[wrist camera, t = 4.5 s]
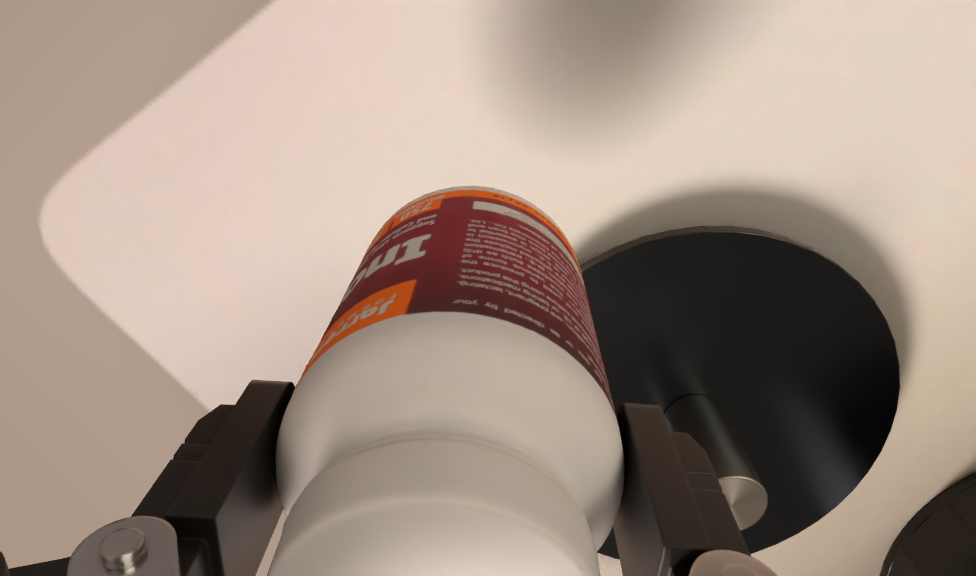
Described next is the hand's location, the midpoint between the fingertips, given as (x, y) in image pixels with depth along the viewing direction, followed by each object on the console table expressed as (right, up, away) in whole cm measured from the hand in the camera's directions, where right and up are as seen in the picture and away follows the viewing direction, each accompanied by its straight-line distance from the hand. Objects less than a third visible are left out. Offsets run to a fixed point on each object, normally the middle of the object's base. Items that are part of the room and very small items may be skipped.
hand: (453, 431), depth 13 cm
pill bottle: (0, +3, +6) cm, 7 cm away
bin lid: (+9, -2, +14) cm, 17 cm away
